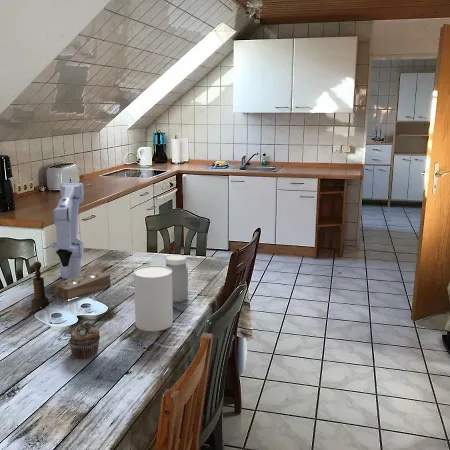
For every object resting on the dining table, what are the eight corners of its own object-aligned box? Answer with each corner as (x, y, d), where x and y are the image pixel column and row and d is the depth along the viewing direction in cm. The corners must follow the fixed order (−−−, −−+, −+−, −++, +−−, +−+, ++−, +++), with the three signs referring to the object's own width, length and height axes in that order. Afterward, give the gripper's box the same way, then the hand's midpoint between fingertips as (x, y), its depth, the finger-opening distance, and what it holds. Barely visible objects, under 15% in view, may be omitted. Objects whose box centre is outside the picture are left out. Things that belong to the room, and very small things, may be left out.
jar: (184, 304, 199) (184, 261, 195) (161, 302, 201) (160, 260, 197) (191, 295, 209) (190, 254, 205) (168, 294, 211) (168, 253, 206)
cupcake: (88, 343, 166) (86, 315, 163) (106, 352, 160) (105, 323, 157) (63, 353, 158) (61, 324, 156) (81, 363, 152) (79, 333, 150)
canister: (137, 332, 174) (135, 278, 169) (133, 317, 187) (132, 266, 182) (175, 328, 177) (175, 275, 173) (169, 314, 190) (168, 264, 185)
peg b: (84, 286, 216) (83, 276, 215) (91, 284, 220) (91, 274, 219) (91, 289, 214) (90, 278, 213) (98, 286, 218) (98, 275, 217)
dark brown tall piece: (27, 306, 196) (24, 262, 191) (40, 301, 201) (37, 258, 197) (40, 309, 193) (36, 265, 188) (52, 304, 198) (49, 261, 194)
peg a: (65, 293, 208) (64, 283, 207) (73, 290, 212) (73, 280, 211) (72, 296, 206) (71, 285, 205) (80, 292, 209) (80, 282, 208)
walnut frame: (52, 296, 206) (51, 284, 205) (94, 281, 225) (94, 270, 224) (68, 301, 201) (68, 289, 200) (110, 285, 220) (110, 274, 219)
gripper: (44, 234, 210) (46, 265, 213) (67, 239, 202) (69, 271, 205) (58, 231, 216) (60, 261, 219) (81, 236, 208) (82, 267, 211)
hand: (65, 266), depth 212 cm, fingers closed
